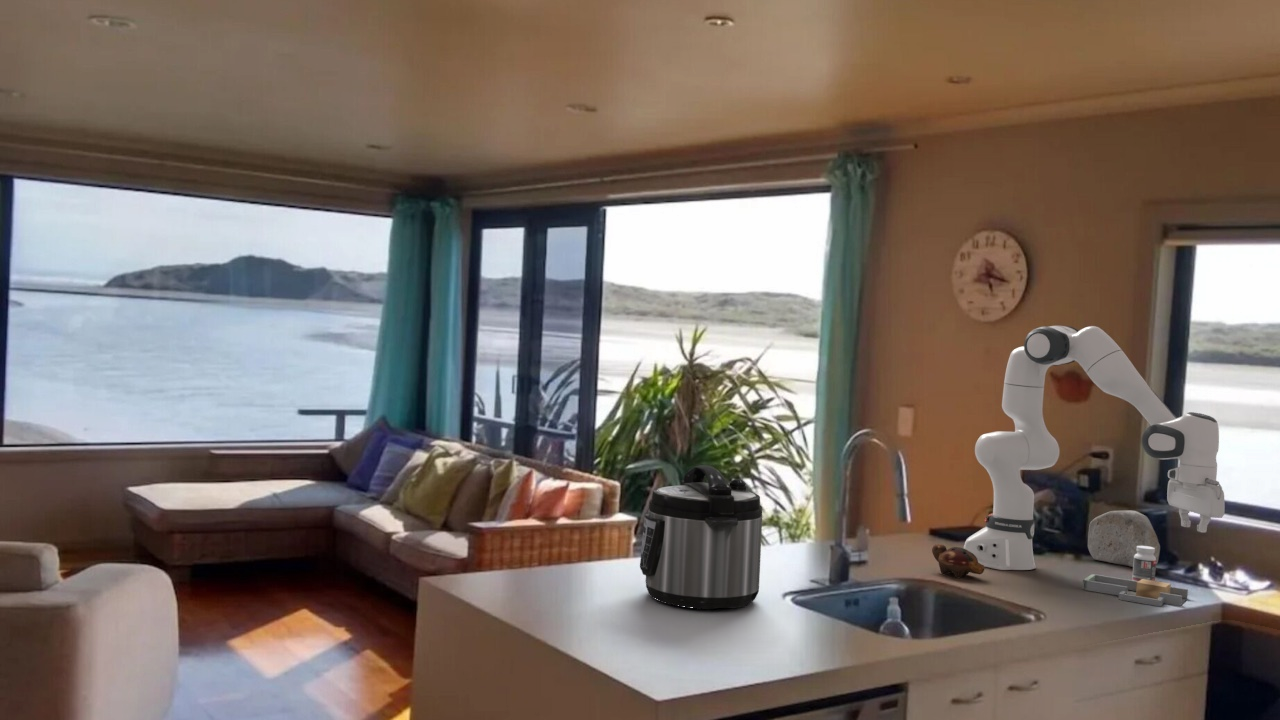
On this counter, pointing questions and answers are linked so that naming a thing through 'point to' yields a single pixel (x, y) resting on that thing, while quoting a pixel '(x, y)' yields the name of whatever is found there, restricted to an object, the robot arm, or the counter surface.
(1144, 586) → the oak block
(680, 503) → the pressure cooker
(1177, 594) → the channel
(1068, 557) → the counter surface
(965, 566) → the decorative turtle
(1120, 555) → the decorative stone
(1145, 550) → the pill bottle
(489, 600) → the counter surface
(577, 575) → the counter surface
